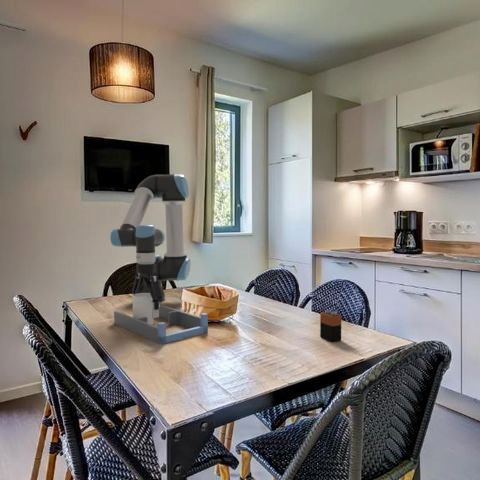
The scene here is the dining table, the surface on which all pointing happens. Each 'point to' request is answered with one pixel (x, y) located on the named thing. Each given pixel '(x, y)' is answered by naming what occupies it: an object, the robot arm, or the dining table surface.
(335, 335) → the battery
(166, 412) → the dining table surface
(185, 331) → the blue bezel
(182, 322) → the grey rectangular frame
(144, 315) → the mug
